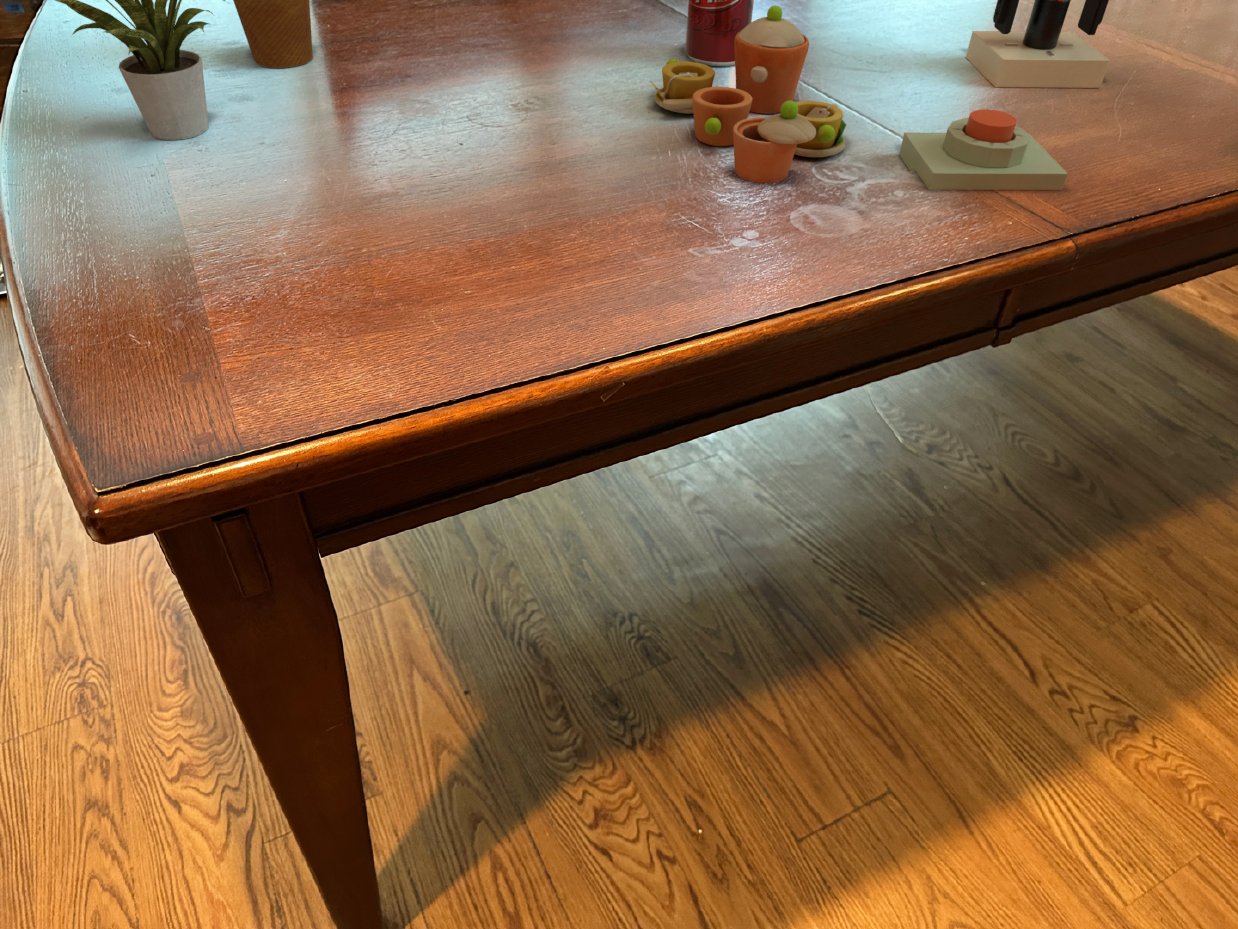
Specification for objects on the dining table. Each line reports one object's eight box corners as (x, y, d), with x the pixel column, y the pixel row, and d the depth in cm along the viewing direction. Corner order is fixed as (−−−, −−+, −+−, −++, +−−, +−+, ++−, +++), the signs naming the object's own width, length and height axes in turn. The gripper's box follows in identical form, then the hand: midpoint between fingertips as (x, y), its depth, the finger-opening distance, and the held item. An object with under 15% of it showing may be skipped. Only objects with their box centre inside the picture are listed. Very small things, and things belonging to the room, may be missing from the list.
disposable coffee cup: (222, 58, 104) (192, -63, 96) (295, 39, 109) (272, -77, 101) (271, 79, 99) (245, -46, 91) (345, 59, 105) (325, -61, 97)
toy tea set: (639, 95, 99) (642, -4, 92) (773, 83, 102) (785, -13, 96) (733, 201, 80) (745, 87, 74) (893, 182, 84) (918, 72, 77)
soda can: (713, 43, 112) (722, -70, 104) (760, 58, 108) (773, -57, 101) (671, 56, 108) (678, -60, 100) (719, 72, 104) (730, -47, 97)
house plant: (205, 87, 97) (158, -92, 86) (294, 119, 91) (255, -70, 81) (77, 128, 88) (6, -66, 78) (166, 166, 82) (103, -38, 72)
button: (1001, 128, 85) (1007, 109, 84) (1017, 146, 82) (1023, 126, 81) (958, 128, 84) (963, 108, 83) (973, 145, 81) (978, 126, 80)
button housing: (1021, 155, 89) (1035, 113, 86) (1059, 197, 82) (1075, 153, 80) (898, 154, 88) (908, 112, 86) (926, 196, 82) (938, 152, 79)
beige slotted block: (1063, 58, 111) (1072, 30, 109) (1100, 87, 104) (1110, 58, 102) (965, 57, 111) (972, 29, 109) (995, 87, 103) (1003, 57, 101)
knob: (1017, 39, 106) (1032, -12, 103) (1047, 39, 107) (1063, -12, 103) (1030, 49, 104) (1046, -2, 100) (1061, 49, 104) (1078, -2, 101)
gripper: (1164, -155, 96) (1104, 21, 108) (1001, -159, 95) (957, 20, 107) (1202, -143, 91) (1134, 42, 102) (1028, -147, 90) (979, 40, 101)
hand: (1043, 30), depth 104 cm, fingers open, 9 cm apart
